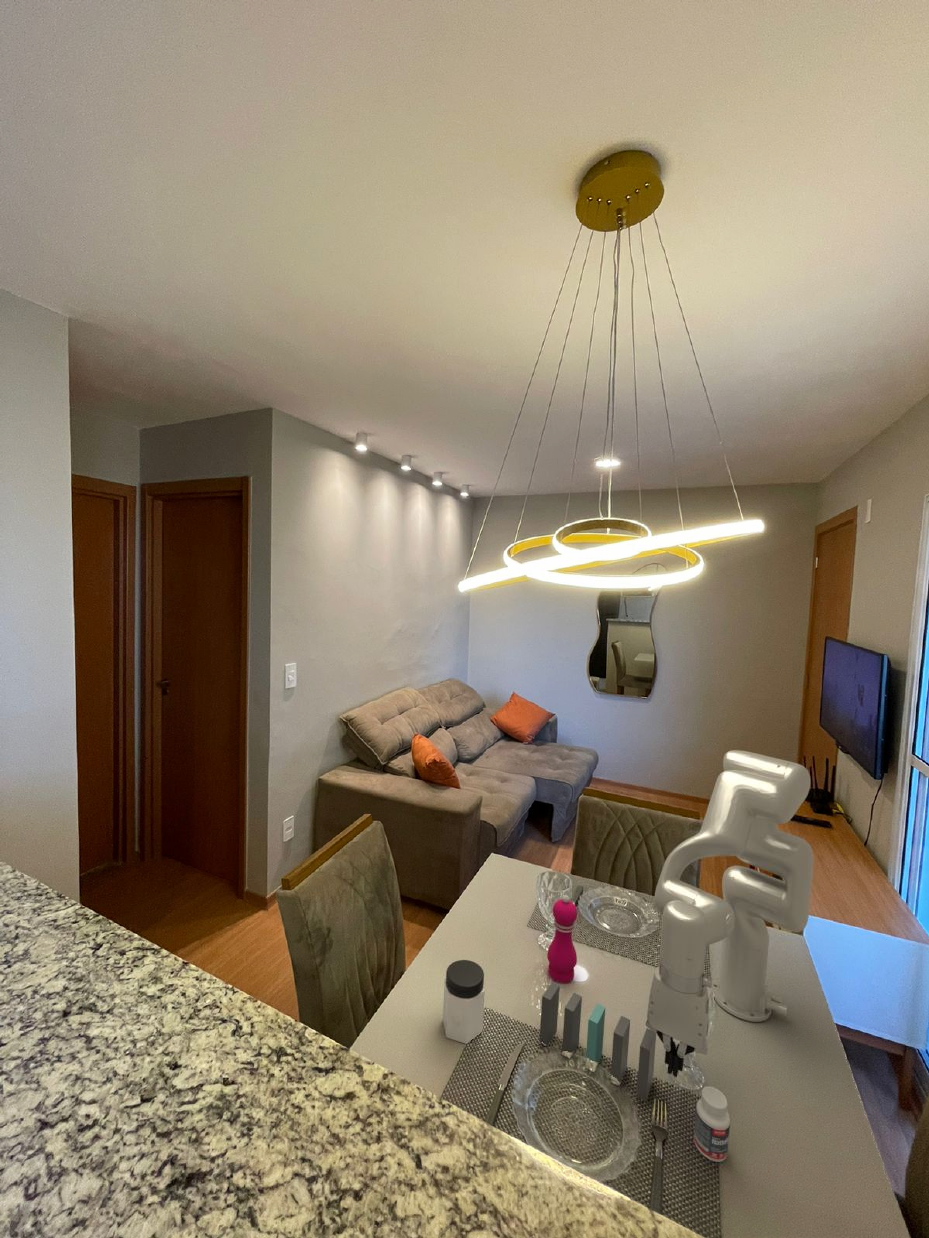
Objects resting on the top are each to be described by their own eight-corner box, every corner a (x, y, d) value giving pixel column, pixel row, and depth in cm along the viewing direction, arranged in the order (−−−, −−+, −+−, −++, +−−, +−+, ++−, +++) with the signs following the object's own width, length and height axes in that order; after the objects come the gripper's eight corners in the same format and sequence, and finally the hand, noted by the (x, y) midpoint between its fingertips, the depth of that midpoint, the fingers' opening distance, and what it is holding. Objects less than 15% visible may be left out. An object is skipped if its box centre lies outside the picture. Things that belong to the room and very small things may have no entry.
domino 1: (556, 1030, 111) (559, 985, 111) (547, 1046, 107) (550, 999, 107) (549, 1026, 112) (551, 981, 112) (539, 1042, 108) (542, 995, 108)
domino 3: (602, 1054, 106) (605, 1007, 105) (594, 1072, 102) (597, 1023, 101) (593, 1050, 107) (596, 1003, 106) (585, 1067, 103) (588, 1018, 102)
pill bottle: (712, 1168, 85) (716, 1116, 85) (686, 1137, 90) (690, 1088, 90) (734, 1155, 87) (738, 1105, 87) (708, 1126, 92) (712, 1078, 92)
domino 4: (626, 1068, 103) (630, 1019, 103) (619, 1087, 99) (622, 1036, 98) (617, 1063, 104) (621, 1015, 104) (610, 1082, 100) (613, 1032, 99)
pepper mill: (575, 987, 124) (581, 906, 123) (545, 981, 125) (550, 901, 125) (575, 966, 131) (580, 889, 130) (546, 961, 132) (551, 885, 132)
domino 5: (652, 1082, 100) (656, 1032, 100) (646, 1102, 96) (650, 1050, 96) (643, 1077, 101) (646, 1027, 101) (636, 1096, 97) (640, 1045, 97)
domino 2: (578, 1042, 108) (582, 996, 108) (570, 1059, 104) (573, 1011, 104) (570, 1038, 109) (573, 992, 109) (561, 1054, 105) (564, 1007, 105)
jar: (435, 1035, 108) (438, 979, 108) (448, 1006, 116) (451, 954, 115) (476, 1048, 105) (480, 991, 105) (487, 1018, 113) (490, 965, 113)
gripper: (728, 979, 94) (720, 1076, 95) (644, 946, 102) (637, 1035, 103) (723, 1005, 88) (715, 1109, 89) (634, 967, 96) (627, 1062, 97)
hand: (673, 1069), depth 96 cm, fingers closed
